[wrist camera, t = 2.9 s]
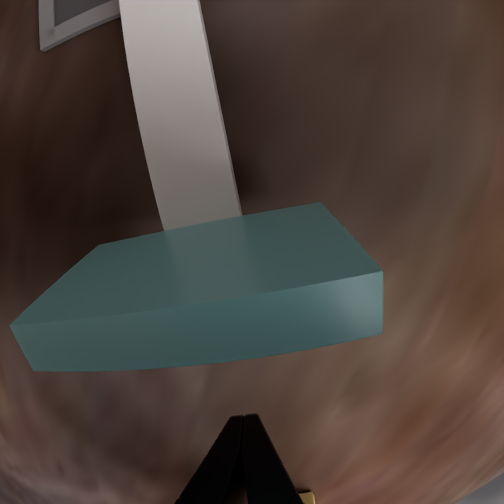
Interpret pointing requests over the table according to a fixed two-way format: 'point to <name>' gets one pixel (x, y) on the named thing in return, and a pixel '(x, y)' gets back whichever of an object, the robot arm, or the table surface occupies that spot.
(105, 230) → the table surface
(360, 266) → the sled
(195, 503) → the robot arm
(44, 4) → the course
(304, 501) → the candy box
